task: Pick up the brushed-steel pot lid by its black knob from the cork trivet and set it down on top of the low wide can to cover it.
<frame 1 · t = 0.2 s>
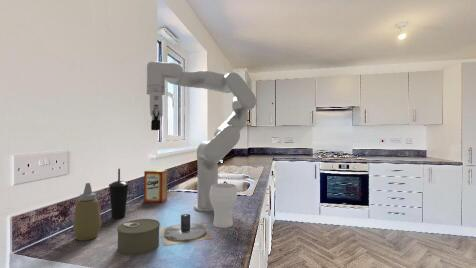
hand: (155, 129, 110), 36 cm above the worktop, tool pointing down, fingers open, 9 cm apart
baking soda box: (155, 201, 132), on the worktop
can: (138, 248, 77), on the worktop
squeeze bottle: (87, 238, 84), on the worktop
trivet: (185, 233, 88), on the worktop
cup: (223, 225, 97), on the worktop
lid: (185, 232, 88), resting on trivet
drinking cup: (118, 217, 105), on the worktop
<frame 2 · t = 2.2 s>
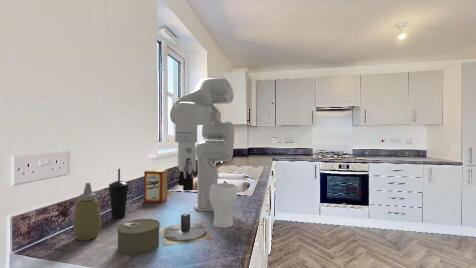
hand: (185, 187, 87), 16 cm above the worktop, tool pointing down, fingers open, 9 cm apart
nothing on the worktop moved.
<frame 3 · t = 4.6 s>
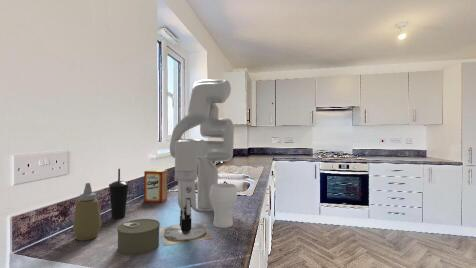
hand: (185, 228, 88), 2 cm above the worktop, tool pointing down, fingers closed on lid, 3 cm apart
lid: (185, 232, 88), resting on trivet, touching gripper
everything else where it was.
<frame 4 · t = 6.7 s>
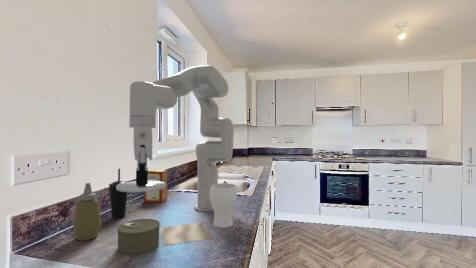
hand: (141, 182, 77), 20 cm above the worktop, tool pointing down, fingers closed on lid, 3 cm apart
lid: (141, 187, 77), point 18 cm above the worktop, touching gripper
everything else where it was.
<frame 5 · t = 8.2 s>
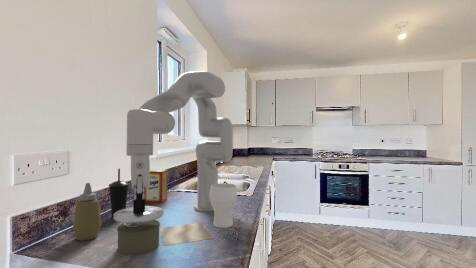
hand: (139, 210, 77), 11 cm above the worktop, tool pointing down, fingers closed on lid, 3 cm apart
lid: (139, 215, 77), point 10 cm above the worktop, touching gripper
everything else where it was.
when the fingers open (10 cm above the worktop, at t = 9.1 s): lid drops 2 cm, resting on can.
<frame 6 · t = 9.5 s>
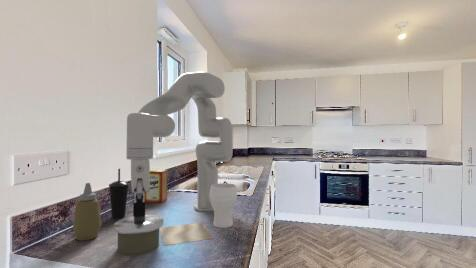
hand: (139, 211, 77), 11 cm above the worktop, tool pointing down, fingers open, 7 cm apart
can: (138, 248, 77), on the worktop, touching lid
lid: (139, 225, 77), point 7 cm above the worktop, touching can
everything else where it was.
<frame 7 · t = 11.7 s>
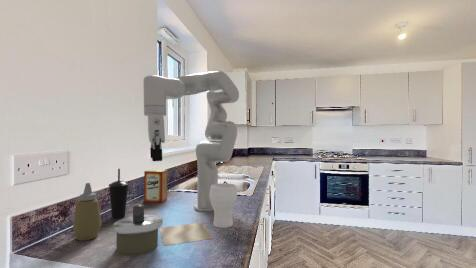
hand: (156, 159, 90), 26 cm above the worktop, tool pointing down, fingers open, 9 cm apart
nothing on the worktop moved.
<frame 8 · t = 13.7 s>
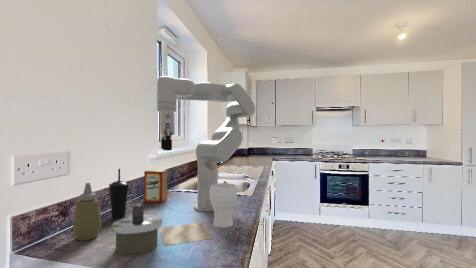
hand: (166, 149, 103), 28 cm above the worktop, tool pointing down, fingers open, 9 cm apart
nothing on the worktop moved.
at the end: lid 0.1 cm from the can (horizontally); lid point 6.7 cm above the worktop; lid tilted 0° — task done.
